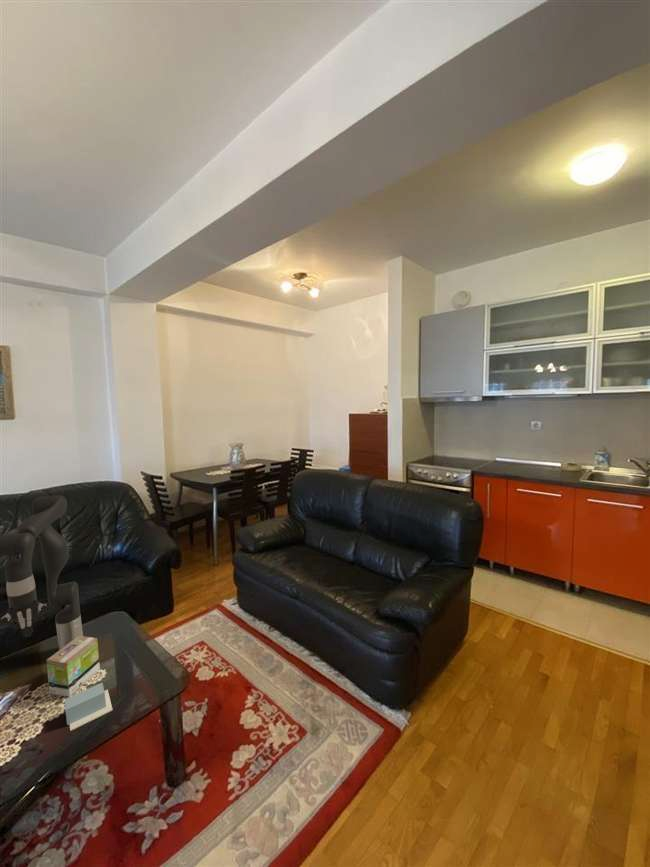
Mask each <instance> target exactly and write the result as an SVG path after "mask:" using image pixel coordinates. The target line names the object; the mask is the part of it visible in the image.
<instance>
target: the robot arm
mask: <svg viewBox="0 0 650 867" xmlns="http://www.w3.org/2000/svg"><path fill="white" fill-rule="evenodd" d="M31 507H32V508H31V509H32V511H31V512H32V515H31V516H29V517H27V518H26V519H24V520H23V521H22V522H21V523H20V524H19V525H18V526H17V527H15V528H13V529H10V530H9V531H6V532H5V533H3V534H1V536H0V557H9V556H10V557H11V556H18V555H19V558H16V559H14V560H11V561H9V562H7V563H6V564H5V565H4V573H5V574H4V575H5V580H6V584H5V587H6V594H7V595H6V596H7V602H8V610H7V613H6V614H5V615H2V617H1V619H0V622H1V623H3V624H4V625H5V626H8V627H10V628H12V629H14V630H17V629H21V635H22V637H25V639H26V638H29V637H31V635H32V634H33V632H34V629H33V628H34V627H33V624H35V623H37V622H39V620H40V618H41V617H42V616H43V614H44V613H45V611H46V609H47V608H48V605H49V606H50V608H58V607H64V606H66V607H64V608H62V609H61V610H60V611H58V612H57V613H56V614H55V617H54V619H55V620H54V621H55V628H56V635H57V643H58V651H59V650H60V649H62V648H63V647H64V646H66V645H67V644H68V643H70V642H71V641H72V640H74V639H75V638H76V637H77V636H84V633H83V624H82V616H81V606H80V596H79V595H80V593H79V585H78V582H77V581H70V582H65V583H60V584H58V579H59V576H60V574H61V572H62V571H63V569H64V568H65V565H66V564H67V562H68V560H69V557H70V552H69V548H68V547H69V545H68V542H67V540H66V538H64V537H63V536H62V535H61V533H59V532H58V531H57V530H55V528H53V526H52V525H51V524H52V523H54V522H55V521H57V520H58V519H60V518H61V517H63V516H64V515H65V513H66V512H67V509H68V501H67V499H66V497H65V496H64V495H47V496H39V497H36V498H34V499H33V501H32V504H31ZM37 537H38V538H39V544H40V552H41V558H42V562H43V566H44V573H45V579H46V590H47V591H46V592H47V601H48V602H47V603H48V605H47V603H46V602H45V603H41V602H40V600H38V598H37V589H36V582H35V578H34V574H33V566H32V561H33V560H32V559H33V553H34V549H35V544H36V539H37ZM67 605H68V606H67ZM37 610H38V611H37ZM36 611H37V612H36ZM35 612H36V613H35ZM34 613H35V615H34ZM33 615H34V616H33ZM32 616H33V617H32ZM12 618H14V619H15V620H14V619H12ZM25 618H26V619H25ZM16 620H18V621H16Z"/></svg>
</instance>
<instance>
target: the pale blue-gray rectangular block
mask: <svg viewBox="0 0 650 867" xmlns="http://www.w3.org/2000/svg"><path fill="white" fill-rule="evenodd" d="M104 691H105V688H104V683H103V682H101V683H98V684H96V685H93V686H91V687H89V688H87V689H85V690H82V691H80V692H78V693H75V694H74V695H73V694H72V695H71V696H70V697H67V698H64V708H65V709H64V710H65V717H66V719H65V720H66V726H70V724H71V723H74V722H76V721H78V720H80V719H82V718H84V717H86V716H88V715H90V714H92V713H94V712H96V711H99V710H101V709H103V708H105V707H106V700H105V692H104Z"/></svg>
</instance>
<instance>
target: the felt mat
mask: <svg viewBox="0 0 650 867" xmlns="http://www.w3.org/2000/svg"><path fill="white" fill-rule="evenodd" d="M104 692H105V700H106V707H105V708H103V709H101V710H99V711H96V712H94V713H92V714H90V715H88V716H86V717H84V718H82V719H80V720H78V721H76V722H74V723H71V724H69V731H70V732H71V731H73V730H76V729H77V728H79V727H82V726H83V725H85V724H88V723H90V722H92V721H93V720H96V719H99V718H100V717H103V715H106V714H108V713H111V712H112V711H113V706H112V703H111V701H112V700H111V698H110V697H111V696H110V694H109V690H108V689H106V690H105V689H104Z"/></svg>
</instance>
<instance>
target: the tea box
mask: <svg viewBox="0 0 650 867" xmlns="http://www.w3.org/2000/svg"><path fill="white" fill-rule="evenodd" d="M98 643H99V642H98V638H97V637H90V636H84V635H83V636H77V637H76V638H75V639H74V640H72V641H71V642H70V643H68V644H67V645H66V646H64V647H63V648H62V649H60V650H59V649H58V651H57V652H54V654H53V655H51V656H50V657H48V658H47V659H46V670H47V680H48V682H47V683H48V690H49V694H51V695H57V696H62V697H67V698H68V697H71V696H73V694H74V693H75V692H76V691H78V689H80V688H81V687H83V685H84V684H85V683H86V682H87V681H89V680H90V679H91V678H92V677H93V676H94V675H95V674H97V672H98V671H100V669H101V666H100V657H99V656H100V655H99V644H98Z"/></svg>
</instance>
